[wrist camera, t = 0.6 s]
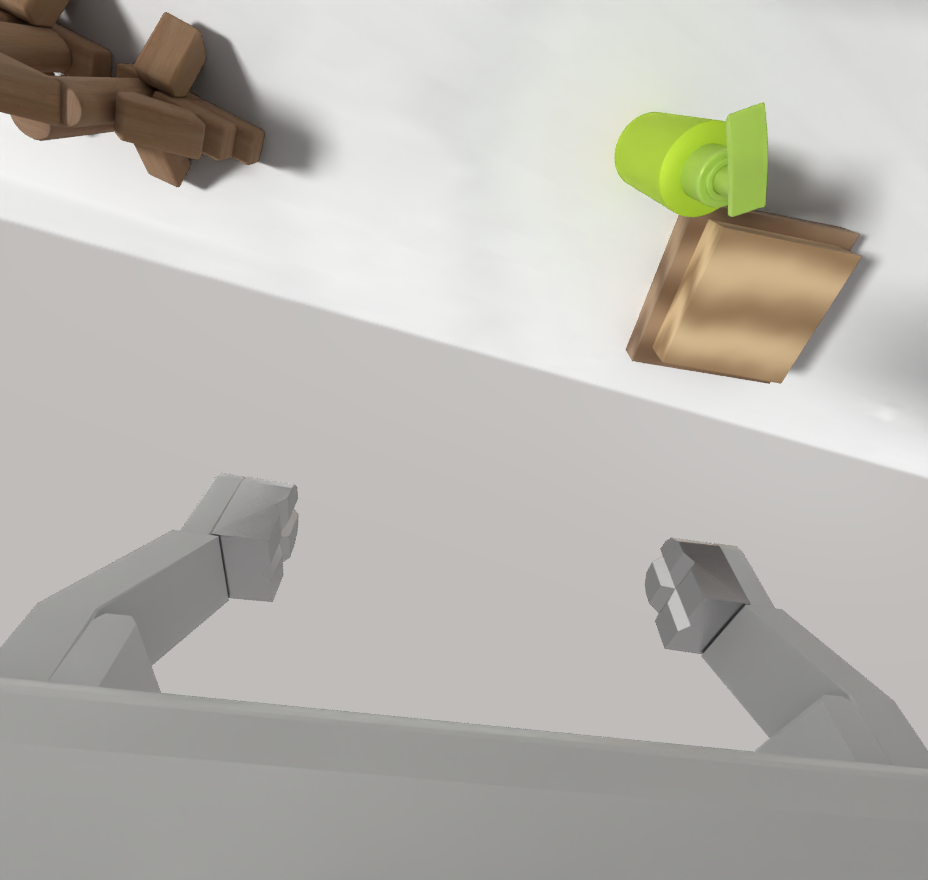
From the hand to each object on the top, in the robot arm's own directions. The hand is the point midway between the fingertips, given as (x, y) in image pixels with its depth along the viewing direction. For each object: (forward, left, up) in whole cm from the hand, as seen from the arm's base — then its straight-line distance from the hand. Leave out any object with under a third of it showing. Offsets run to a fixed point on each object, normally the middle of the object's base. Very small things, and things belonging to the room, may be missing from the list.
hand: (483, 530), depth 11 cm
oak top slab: (+5, +28, -41) cm, 50 cm away
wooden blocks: (-4, -31, -44) cm, 54 cm away
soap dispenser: (-6, +15, -44) cm, 47 cm away
